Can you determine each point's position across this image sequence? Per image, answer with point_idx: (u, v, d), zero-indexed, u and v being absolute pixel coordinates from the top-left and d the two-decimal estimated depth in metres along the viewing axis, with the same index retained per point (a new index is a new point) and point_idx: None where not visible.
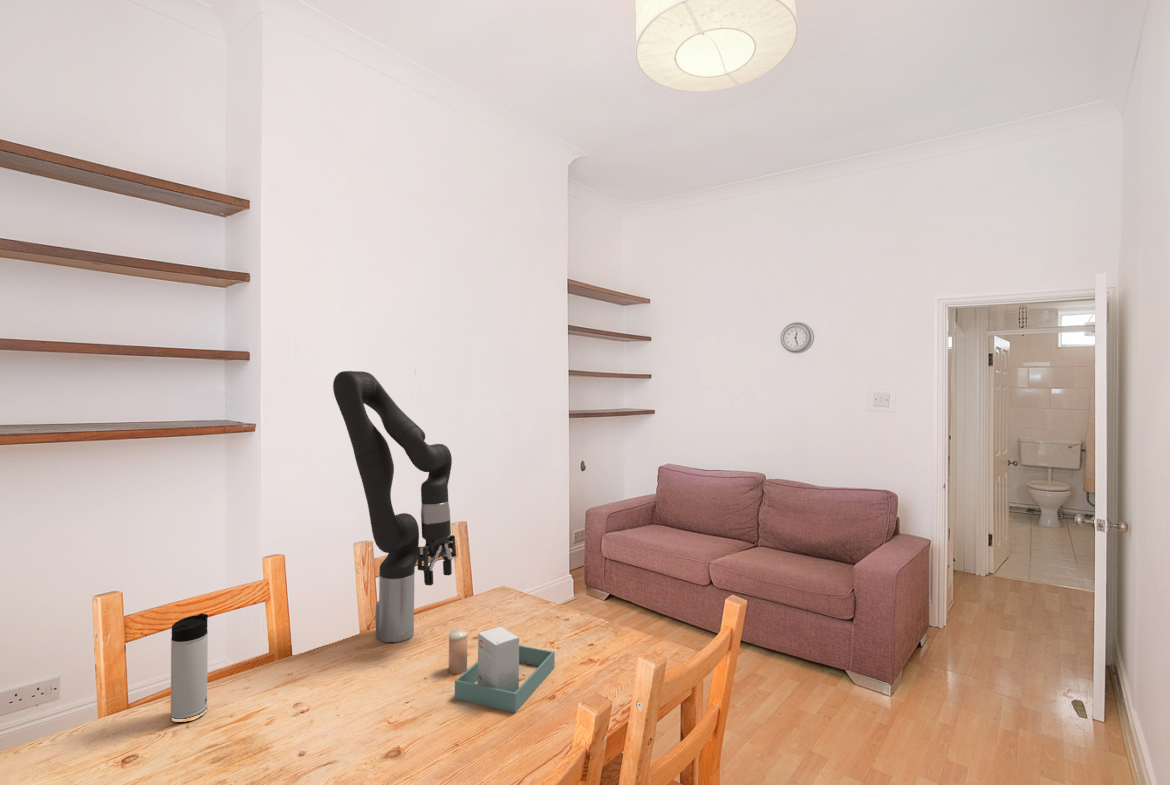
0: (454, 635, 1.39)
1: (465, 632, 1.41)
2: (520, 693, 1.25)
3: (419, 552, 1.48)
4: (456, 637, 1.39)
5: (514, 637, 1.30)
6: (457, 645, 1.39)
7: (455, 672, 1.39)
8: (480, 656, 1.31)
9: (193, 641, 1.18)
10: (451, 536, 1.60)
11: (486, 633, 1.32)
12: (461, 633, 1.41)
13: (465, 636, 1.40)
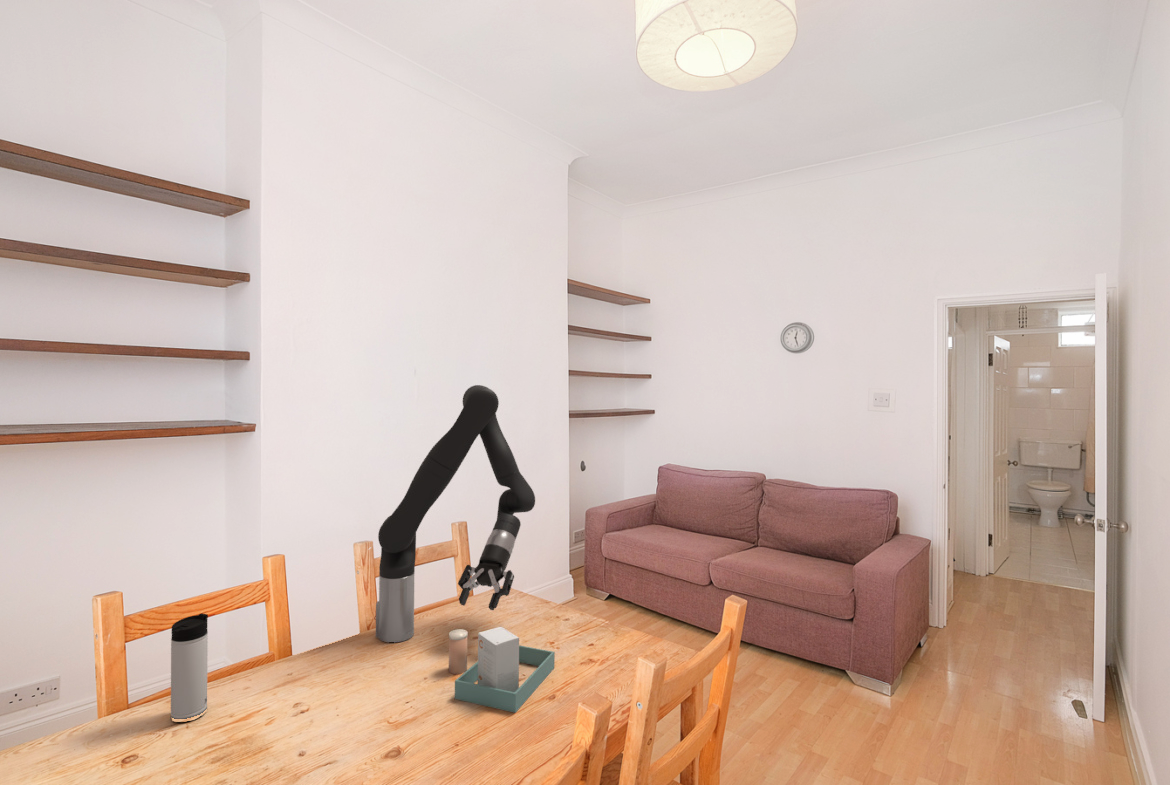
0: (454, 635, 1.39)
1: (465, 632, 1.41)
2: (520, 693, 1.25)
3: (511, 576, 1.52)
4: (456, 637, 1.39)
5: (514, 637, 1.30)
6: (457, 645, 1.39)
7: (455, 672, 1.39)
8: (480, 656, 1.31)
9: (193, 641, 1.18)
10: None
11: (486, 633, 1.32)
12: (461, 633, 1.41)
13: (465, 636, 1.40)
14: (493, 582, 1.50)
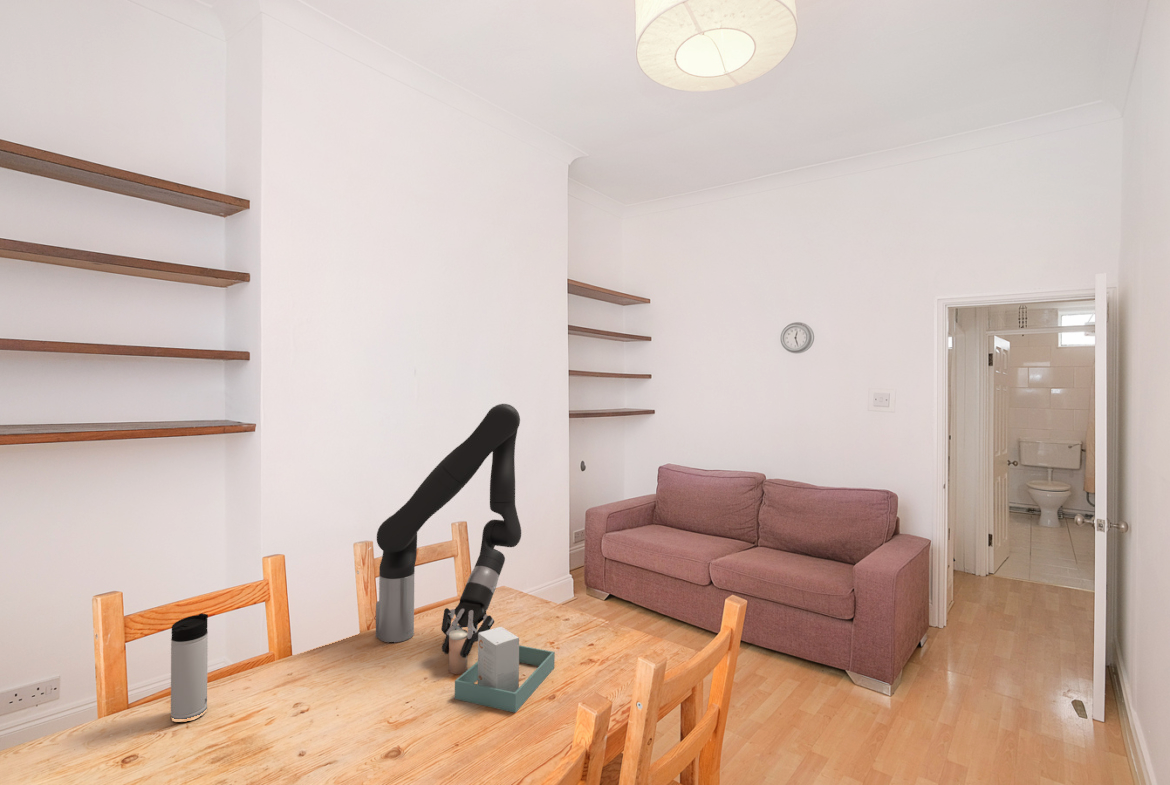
0: (454, 635, 1.39)
1: (465, 632, 1.41)
2: (520, 693, 1.25)
3: (489, 622, 1.42)
4: (456, 637, 1.39)
5: (514, 637, 1.30)
6: (457, 644, 1.39)
7: (455, 672, 1.39)
8: (480, 656, 1.31)
9: (193, 641, 1.18)
10: None
11: (486, 633, 1.32)
12: (461, 633, 1.41)
13: (465, 636, 1.40)
14: (469, 626, 1.41)
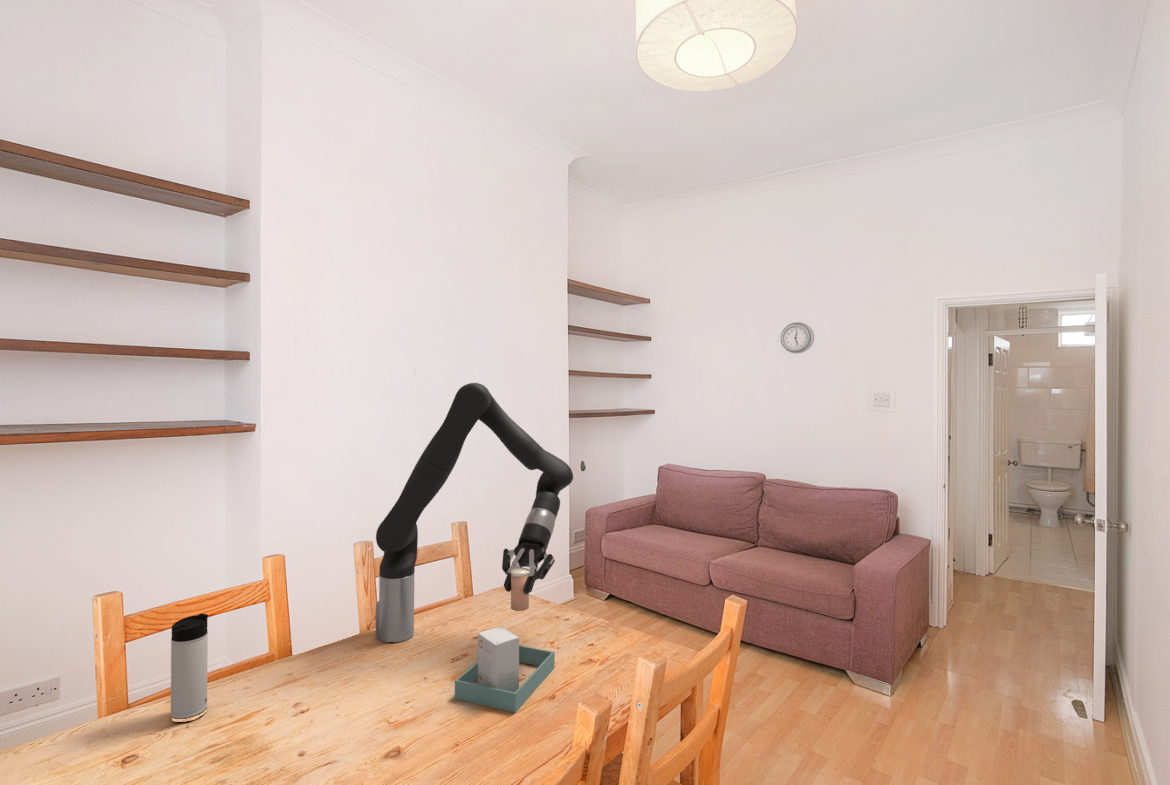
0: (516, 572, 1.39)
1: (527, 570, 1.41)
2: (520, 693, 1.25)
3: (550, 560, 1.42)
4: (519, 574, 1.38)
5: (514, 637, 1.30)
6: (520, 581, 1.38)
7: (518, 609, 1.38)
8: (480, 656, 1.31)
9: (193, 641, 1.18)
10: None
11: (486, 633, 1.32)
12: (523, 571, 1.40)
13: (527, 573, 1.40)
14: (530, 564, 1.41)
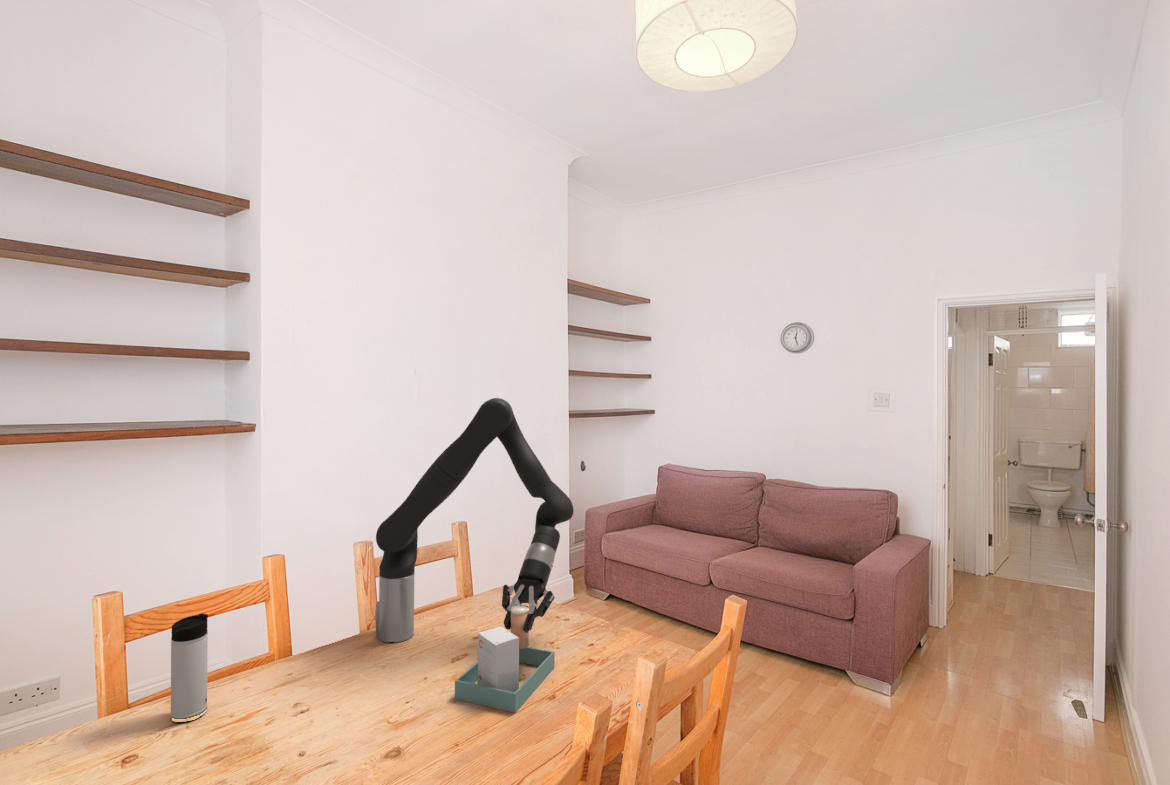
0: (516, 610, 1.39)
1: (526, 607, 1.41)
2: (520, 693, 1.25)
3: (550, 597, 1.42)
4: (518, 612, 1.39)
5: (514, 637, 1.30)
6: (519, 619, 1.38)
7: None
8: (480, 656, 1.31)
9: (193, 641, 1.18)
10: None
11: (486, 633, 1.32)
12: (523, 608, 1.40)
13: (527, 611, 1.40)
14: (530, 601, 1.41)
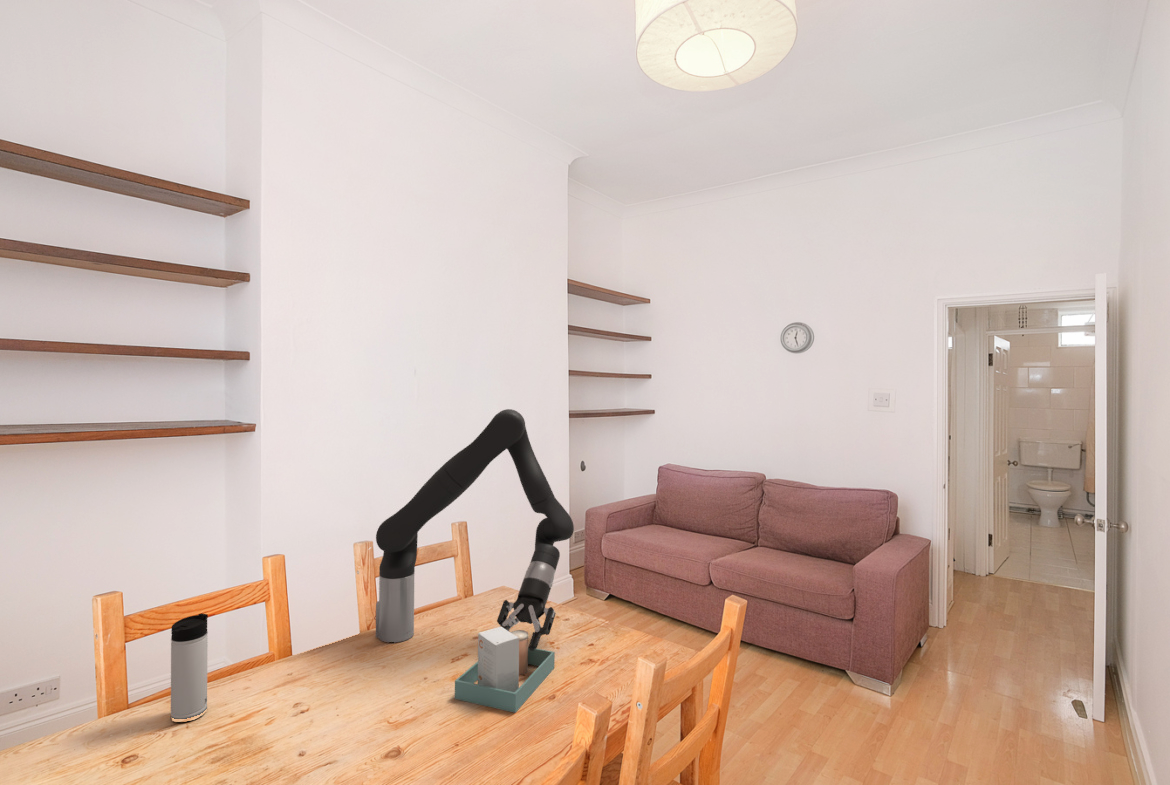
0: None
1: (526, 633, 1.41)
2: (520, 693, 1.25)
3: (552, 613, 1.42)
4: None
5: (514, 637, 1.30)
6: (519, 645, 1.39)
7: None
8: (480, 656, 1.31)
9: (193, 641, 1.18)
10: None
11: (486, 633, 1.32)
12: (522, 634, 1.41)
13: (526, 637, 1.40)
14: (533, 620, 1.41)
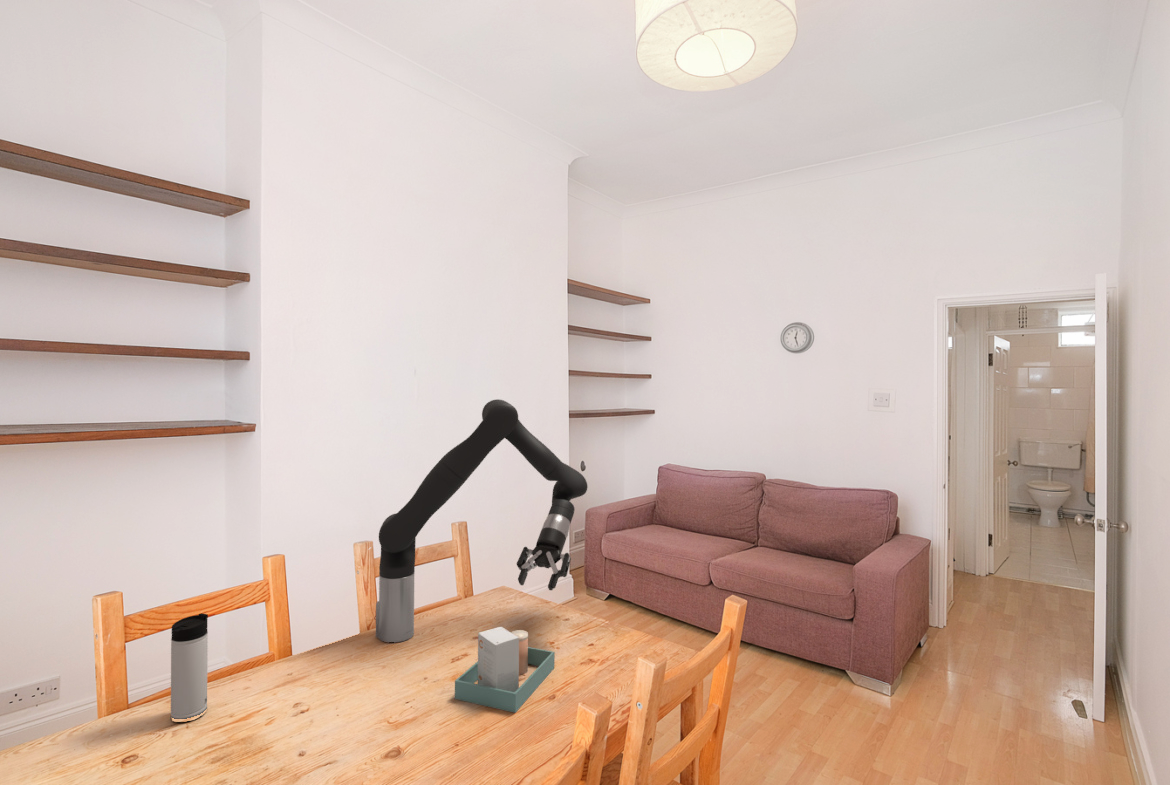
0: None
1: (526, 633, 1.41)
2: (520, 693, 1.25)
3: (568, 558, 1.57)
4: None
5: (514, 637, 1.30)
6: (519, 645, 1.39)
7: None
8: (480, 656, 1.31)
9: (193, 641, 1.18)
10: None
11: (486, 633, 1.32)
12: (522, 634, 1.41)
13: (526, 637, 1.40)
14: (551, 563, 1.56)
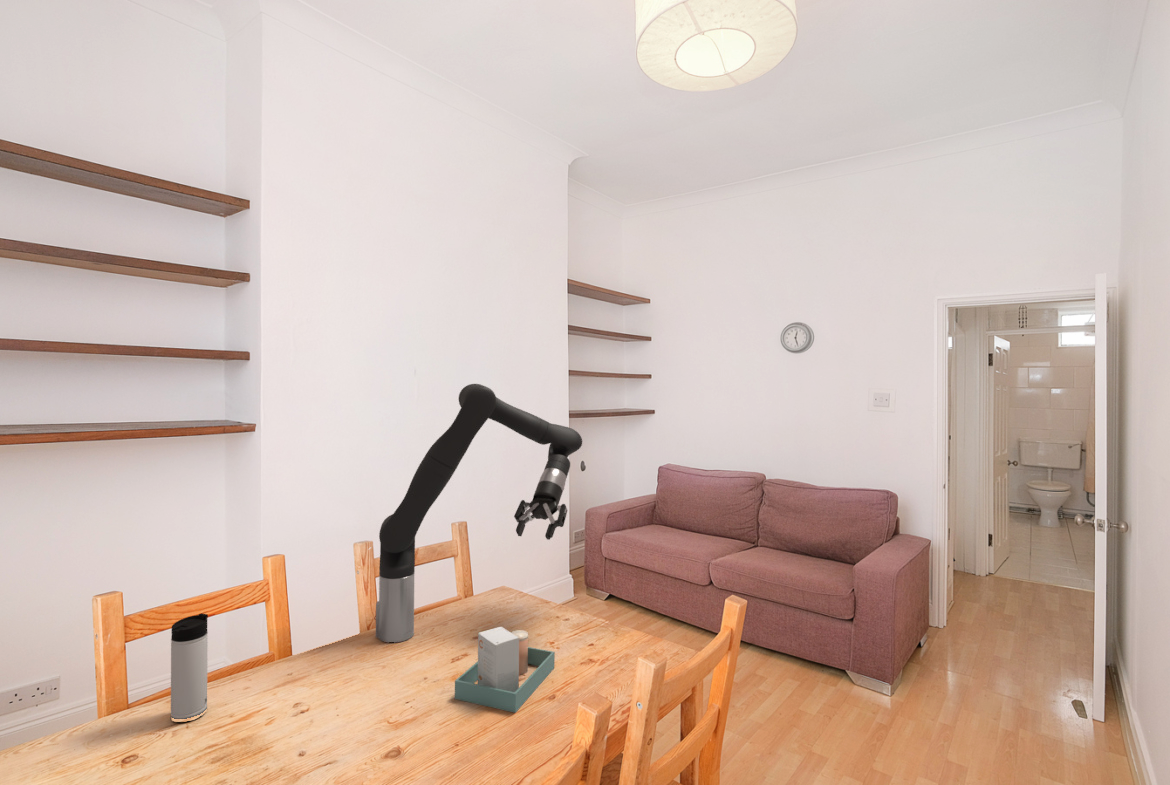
0: None
1: (526, 633, 1.41)
2: (520, 693, 1.25)
3: (565, 509, 1.60)
4: None
5: (514, 637, 1.30)
6: (519, 645, 1.39)
7: None
8: (480, 656, 1.31)
9: (193, 641, 1.18)
10: None
11: (486, 633, 1.32)
12: (522, 634, 1.41)
13: (526, 637, 1.40)
14: (548, 514, 1.58)
